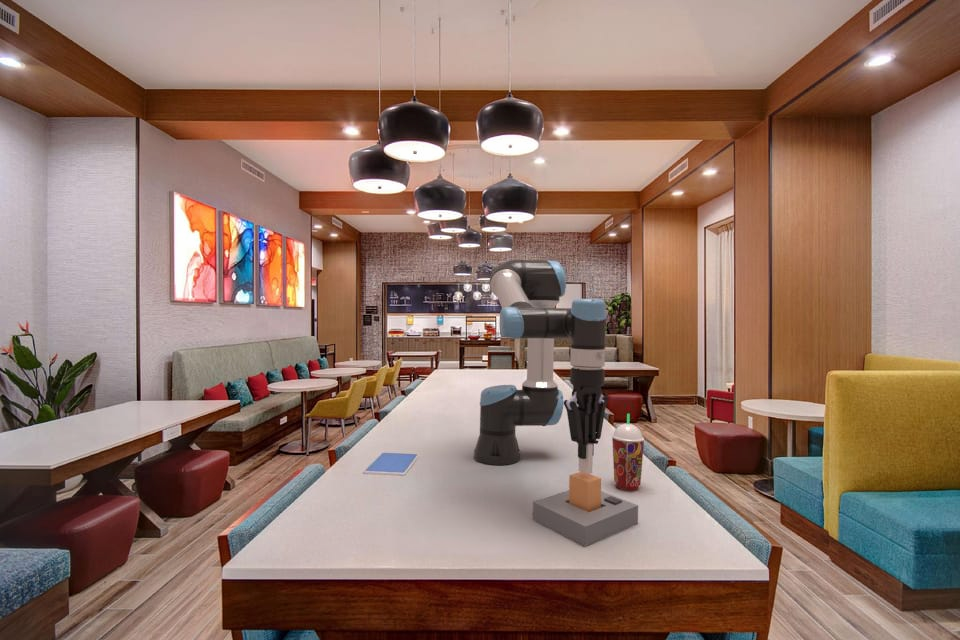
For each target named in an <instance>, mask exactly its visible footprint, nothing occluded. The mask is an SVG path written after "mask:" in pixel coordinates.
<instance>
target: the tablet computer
mask: <svg viewBox="0 0 960 640" xmlns="http://www.w3.org/2000/svg"><path fill="white" fill-rule="evenodd" d="M419 457H420V454H417V453H405V452H404V453H403V452H402V453H401V452H399V453H398V452H397V453H396V452H381V454H380V455H378V456H377V457H376V458H375V460H374V461H372V462H371V464H369V465H368V466H367V467H366V468H365V469H364V470H363V472H362V473H363V474H364V475H378V476H379V475H381V476H400V477H401V476H405V475H406V474H407V473H408V471H409V470H410V469H411V467H412V466H413V465H414V463H415V462H416V461H417V460H418V458H419Z"/></svg>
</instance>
